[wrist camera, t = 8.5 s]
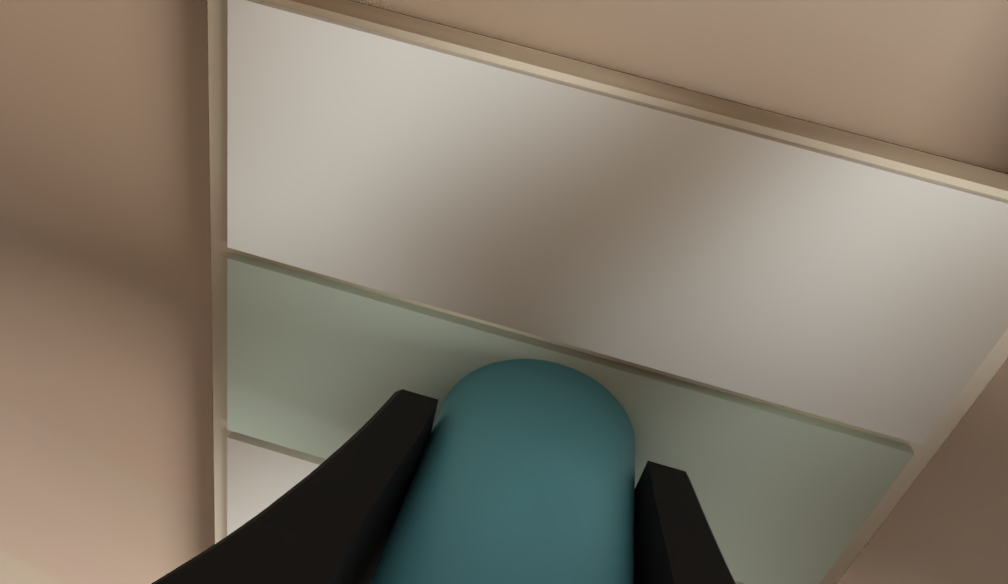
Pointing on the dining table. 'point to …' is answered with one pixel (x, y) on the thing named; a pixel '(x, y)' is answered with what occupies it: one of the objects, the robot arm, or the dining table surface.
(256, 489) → the board
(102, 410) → the dining table surface
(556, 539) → the pawn
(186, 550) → the dining table surface
